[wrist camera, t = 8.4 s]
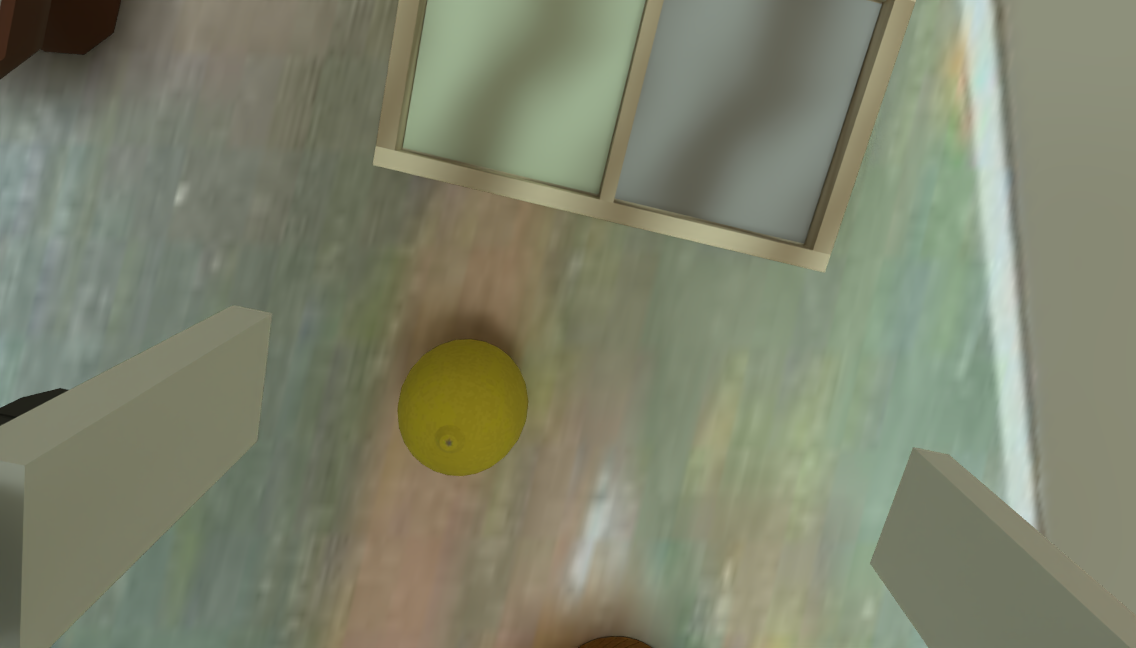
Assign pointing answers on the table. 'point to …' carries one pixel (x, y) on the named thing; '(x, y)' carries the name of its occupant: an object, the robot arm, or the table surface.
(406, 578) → the table surface
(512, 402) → the lemon
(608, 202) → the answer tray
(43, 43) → the ice cream bowl
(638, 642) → the disposable coffee cup
